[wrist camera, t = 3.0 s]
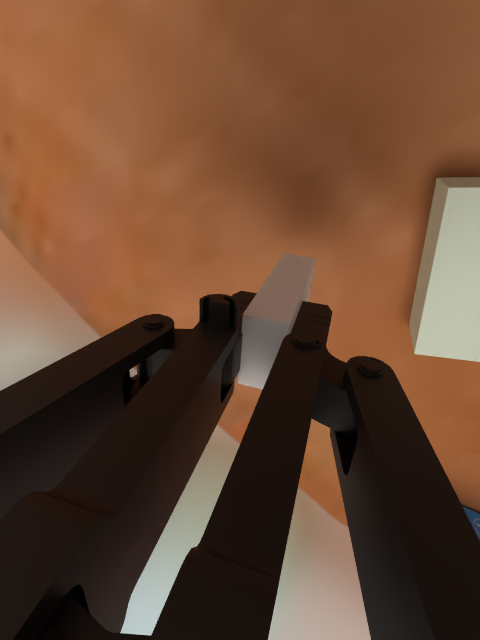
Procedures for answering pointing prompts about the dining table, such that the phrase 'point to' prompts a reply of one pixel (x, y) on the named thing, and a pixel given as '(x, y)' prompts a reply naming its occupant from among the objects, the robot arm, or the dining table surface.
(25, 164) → the dining table surface
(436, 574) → the robot arm
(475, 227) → the sage block
